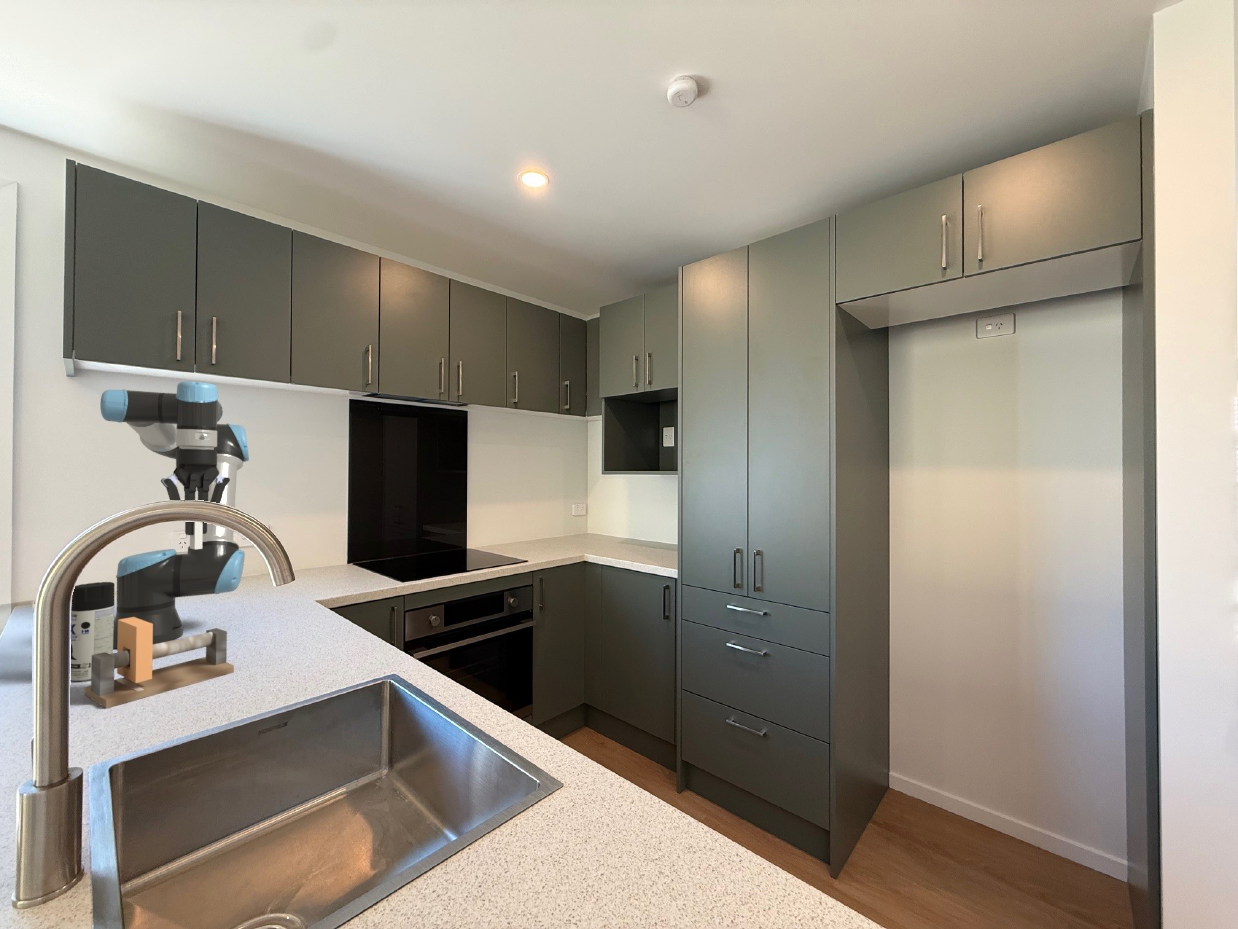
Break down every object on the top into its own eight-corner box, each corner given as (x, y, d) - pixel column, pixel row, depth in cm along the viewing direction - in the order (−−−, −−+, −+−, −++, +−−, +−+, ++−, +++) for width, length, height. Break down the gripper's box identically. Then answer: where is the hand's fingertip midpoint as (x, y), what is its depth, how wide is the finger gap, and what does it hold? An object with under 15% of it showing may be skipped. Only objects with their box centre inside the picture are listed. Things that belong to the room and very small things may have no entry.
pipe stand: (209, 662, 123) (209, 625, 123) (233, 672, 117) (234, 633, 117) (84, 694, 105) (85, 651, 105) (106, 708, 98) (107, 662, 99)
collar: (132, 669, 110) (133, 617, 110) (151, 678, 105) (152, 623, 105) (117, 673, 108) (117, 619, 108) (135, 683, 103) (136, 627, 103)
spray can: (69, 676, 114) (70, 584, 114) (112, 668, 119) (113, 580, 119) (69, 685, 109) (71, 589, 110) (114, 676, 114) (116, 584, 115)
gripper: (168, 447, 115) (167, 554, 116) (236, 449, 127) (235, 546, 127) (155, 447, 119) (154, 550, 120) (222, 449, 130) (221, 543, 131)
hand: (196, 548), depth 123 cm, fingers closed
